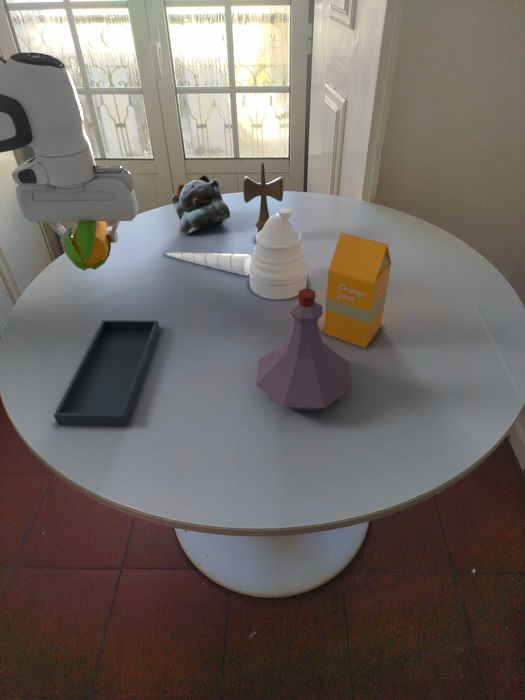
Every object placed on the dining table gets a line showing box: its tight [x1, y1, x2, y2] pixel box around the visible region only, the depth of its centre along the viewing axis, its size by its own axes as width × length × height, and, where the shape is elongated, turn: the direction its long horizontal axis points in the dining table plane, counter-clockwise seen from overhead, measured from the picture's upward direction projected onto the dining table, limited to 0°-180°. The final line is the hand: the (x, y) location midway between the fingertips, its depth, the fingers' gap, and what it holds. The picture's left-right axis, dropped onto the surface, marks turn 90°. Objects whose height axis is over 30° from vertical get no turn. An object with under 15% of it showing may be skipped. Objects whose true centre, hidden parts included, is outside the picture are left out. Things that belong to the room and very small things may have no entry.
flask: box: [256, 288, 353, 411], centre depth 74 cm, size 16×16×20 cm
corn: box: [64, 220, 112, 271], centre depth 87 cm, size 7×8×20 cm
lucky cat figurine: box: [170, 174, 231, 235], centre depth 127 cm, size 15×12×14 cm
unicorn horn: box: [165, 251, 252, 277], centre depth 113 cm, size 5×24×5 cm, turn 61°
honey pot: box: [248, 207, 308, 300], centre depth 100 cm, size 13×13×18 cm
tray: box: [53, 319, 161, 428], centre depth 84 cm, size 11×25×3 cm, turn 177°
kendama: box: [242, 162, 284, 242], centre depth 116 cm, size 6×10×20 cm, turn 87°
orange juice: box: [323, 232, 392, 349], centre depth 86 cm, size 8×9×20 cm
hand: (90, 241), depth 88 cm, fingers closed on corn, 7 cm apart
